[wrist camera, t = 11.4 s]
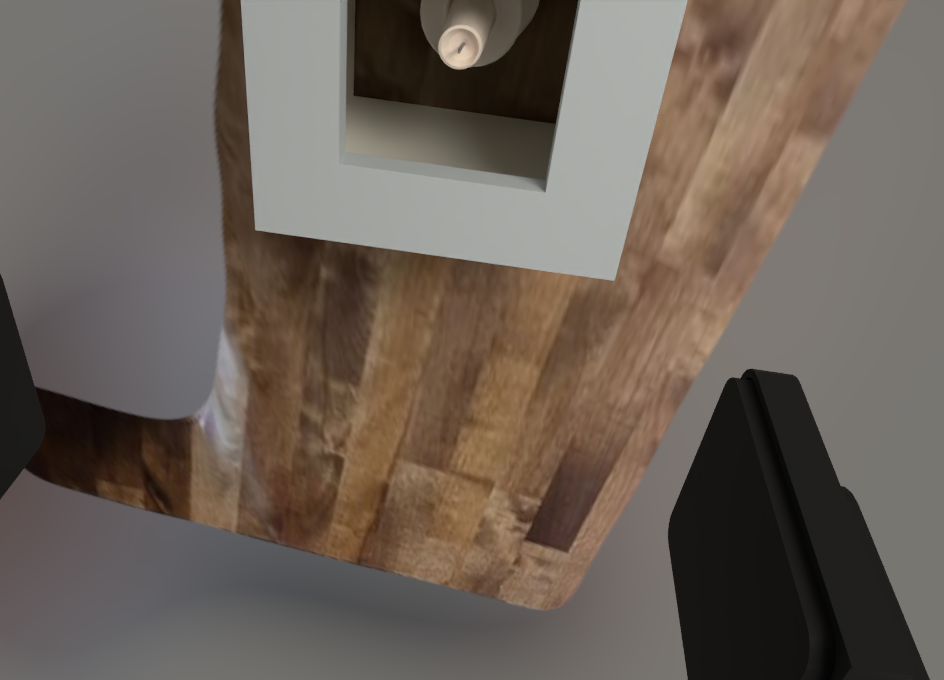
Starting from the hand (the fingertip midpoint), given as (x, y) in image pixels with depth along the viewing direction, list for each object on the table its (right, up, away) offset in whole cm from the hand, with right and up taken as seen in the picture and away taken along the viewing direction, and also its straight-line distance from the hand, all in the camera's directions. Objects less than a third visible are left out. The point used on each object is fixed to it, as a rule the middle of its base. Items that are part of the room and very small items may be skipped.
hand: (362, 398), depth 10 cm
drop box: (+2, +16, +23) cm, 28 cm away
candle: (+2, +16, +23) cm, 29 cm away
